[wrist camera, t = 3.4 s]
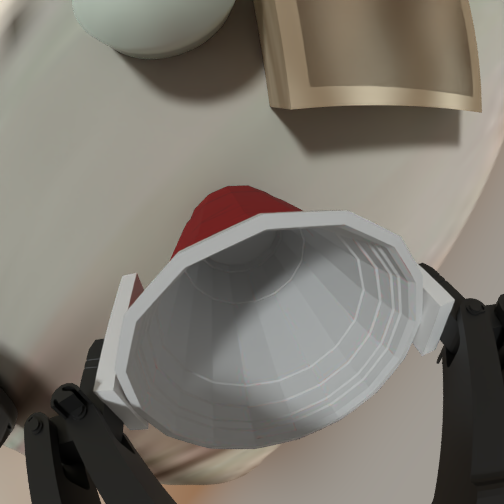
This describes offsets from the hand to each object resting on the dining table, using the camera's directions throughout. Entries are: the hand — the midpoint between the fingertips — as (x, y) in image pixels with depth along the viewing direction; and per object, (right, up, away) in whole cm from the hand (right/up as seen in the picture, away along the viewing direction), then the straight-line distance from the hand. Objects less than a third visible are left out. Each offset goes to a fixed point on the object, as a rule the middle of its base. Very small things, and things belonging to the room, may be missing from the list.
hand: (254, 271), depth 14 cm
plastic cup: (-1, +3, +5) cm, 6 cm away
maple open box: (+7, +17, -2) cm, 18 cm away
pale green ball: (-5, +15, -3) cm, 16 cm away
